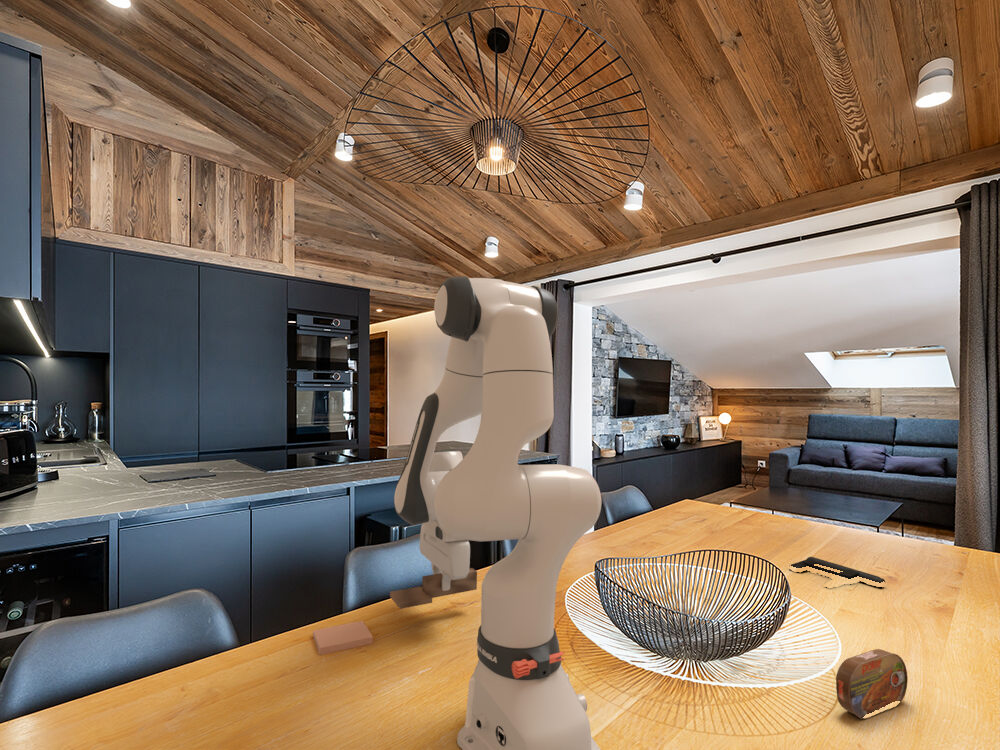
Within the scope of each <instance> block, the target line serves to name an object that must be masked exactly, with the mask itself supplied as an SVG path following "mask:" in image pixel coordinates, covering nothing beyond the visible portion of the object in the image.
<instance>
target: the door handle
mask: <svg viewBox="0 0 1000 750" xmlns="http://www.w3.org/2000/svg"><path fill="white" fill-rule="evenodd" d="M814 564H819V565H822V566H826V567H830V568H833V569H837V570H840V571H843V572H840V573H837V572H834V571H831V570H827V569H824V568H821V567H818V566H814ZM790 565H791V566H793V567H796V568H802V567H806V566H809V567H812V568H815V569H818V570H822V571H825V572H828V573H832V574H835V575H839V576H841V577H845V578H848V579H851V578H854V577H857V576H859V577H862V578H866V579H869V580H872V581H875V582H879V583H881V582H883V581H884V582H885V583H886V579H884V578H882V577H880V576H878V575H875V574H871V573H868V572H864V571H862V570H858V569H855V568H850V567H848V566H845V565H841V564H838V563H835V562H830V561H827V560H824V559H821V558H818V557H814V556H808V557H807V558H806V559H803V560H801V561H798V562H794V563H792V564H790Z"/></svg>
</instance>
